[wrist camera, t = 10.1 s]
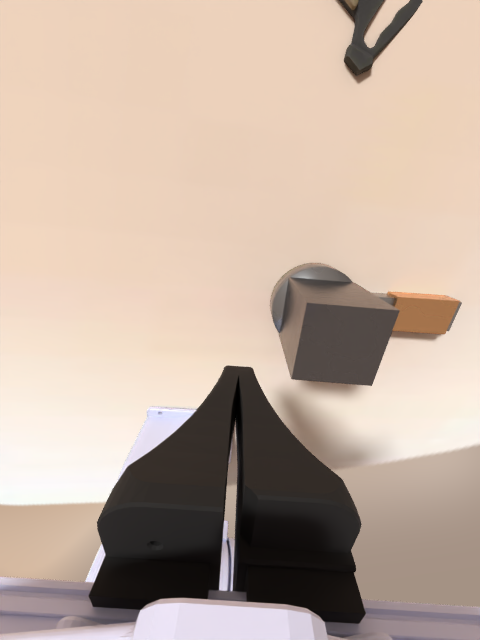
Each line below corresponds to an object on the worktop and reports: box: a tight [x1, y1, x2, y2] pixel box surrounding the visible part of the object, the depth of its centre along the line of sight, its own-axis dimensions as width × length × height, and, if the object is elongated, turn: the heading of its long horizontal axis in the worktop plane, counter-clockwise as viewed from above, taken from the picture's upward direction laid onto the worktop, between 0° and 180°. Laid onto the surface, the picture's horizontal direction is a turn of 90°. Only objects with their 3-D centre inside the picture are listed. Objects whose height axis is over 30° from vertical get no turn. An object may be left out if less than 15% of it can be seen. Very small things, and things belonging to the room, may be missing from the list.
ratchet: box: [270, 263, 462, 334], centre depth 19 cm, size 16×7×5 cm, turn 86°
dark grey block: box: [279, 277, 400, 386], centre depth 17 cm, size 5×5×6 cm
